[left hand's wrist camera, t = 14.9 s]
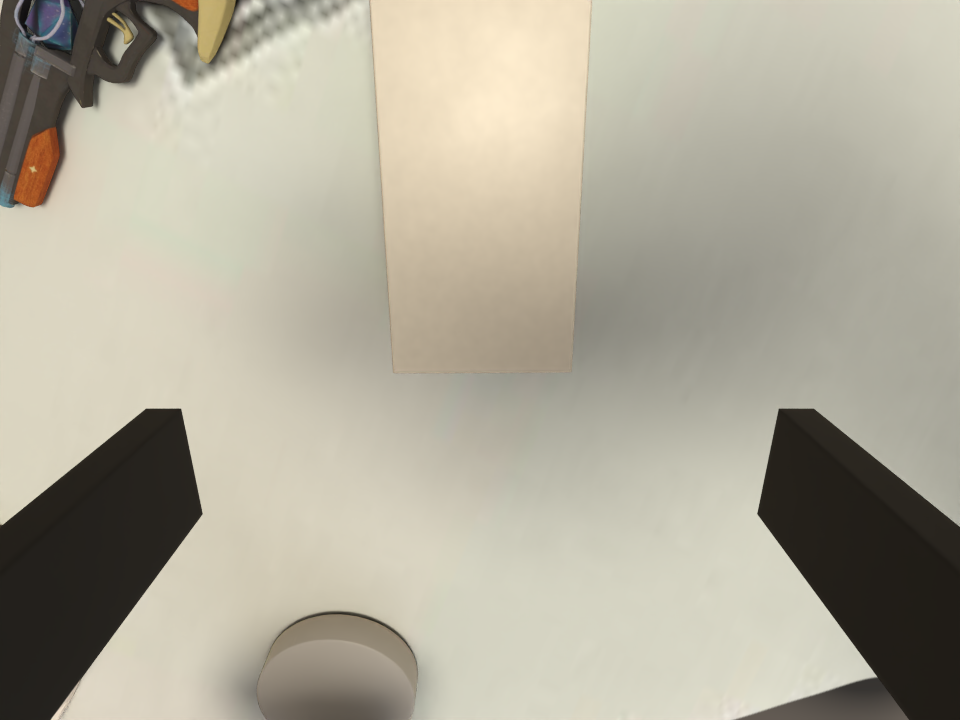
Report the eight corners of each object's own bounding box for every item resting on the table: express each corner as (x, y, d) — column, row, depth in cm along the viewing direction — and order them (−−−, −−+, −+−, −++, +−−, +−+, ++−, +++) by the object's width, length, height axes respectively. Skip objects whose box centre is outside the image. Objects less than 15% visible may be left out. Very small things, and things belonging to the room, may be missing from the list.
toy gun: (240, -35, 29) (25, -184, 26) (118, 273, 36) (-63, 184, 33) (255, -29, 31) (60, -164, 28) (138, 259, 38) (-29, 175, 35)
